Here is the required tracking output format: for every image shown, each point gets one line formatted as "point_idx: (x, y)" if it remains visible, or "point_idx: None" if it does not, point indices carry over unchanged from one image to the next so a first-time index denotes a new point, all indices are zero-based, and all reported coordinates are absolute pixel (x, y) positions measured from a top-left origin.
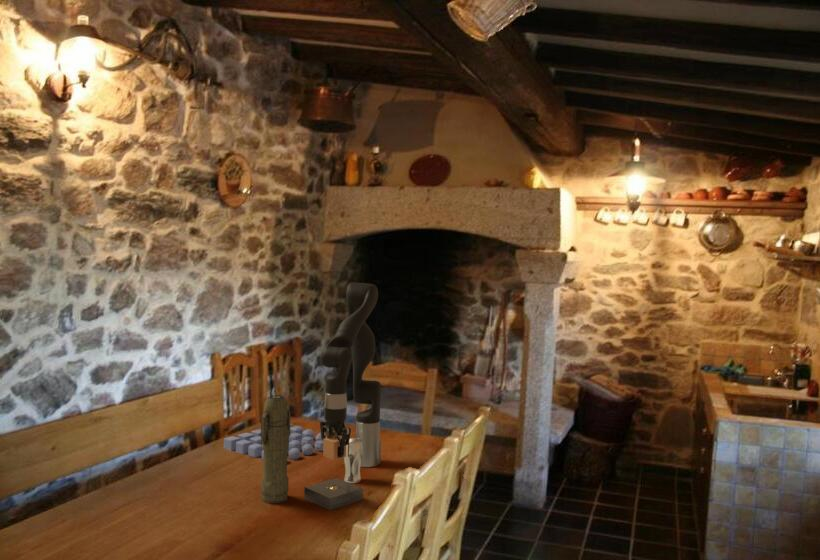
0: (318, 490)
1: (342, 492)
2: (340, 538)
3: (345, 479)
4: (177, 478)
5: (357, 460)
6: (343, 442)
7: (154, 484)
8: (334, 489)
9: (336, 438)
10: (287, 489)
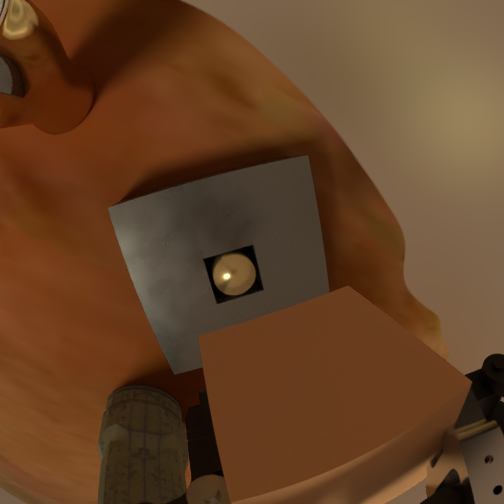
0: None
1: (308, 261)
2: (438, 322)
3: (58, 131)
4: (8, 473)
5: (61, 56)
6: (500, 413)
7: (37, 496)
8: (253, 277)
9: (451, 485)
10: (164, 414)
